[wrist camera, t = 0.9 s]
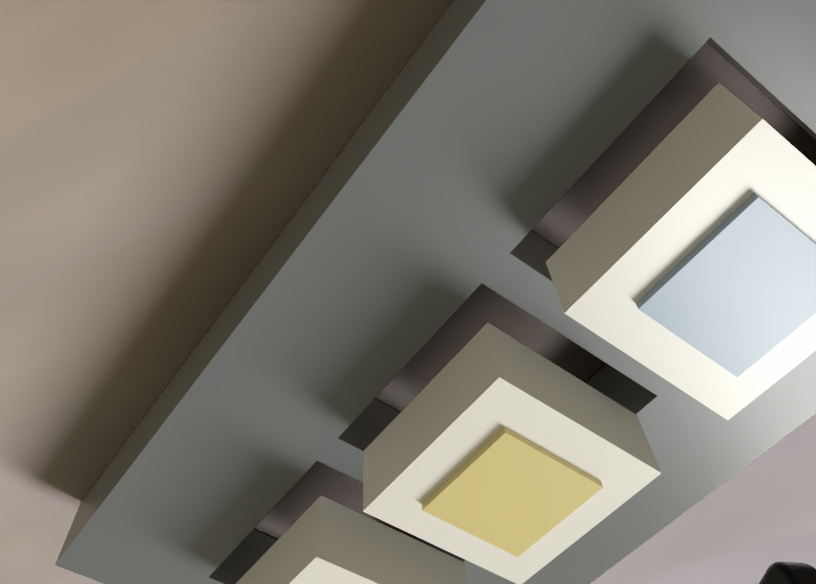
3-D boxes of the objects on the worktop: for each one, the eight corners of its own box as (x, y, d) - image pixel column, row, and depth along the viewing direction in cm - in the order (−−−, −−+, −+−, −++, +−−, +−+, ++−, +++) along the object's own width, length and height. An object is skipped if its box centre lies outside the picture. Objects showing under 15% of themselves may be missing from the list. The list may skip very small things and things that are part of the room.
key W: (636, 415, 20) (664, 479, 18) (508, 524, 22) (521, 592, 20) (487, 322, 18) (501, 383, 16) (363, 450, 20) (362, 518, 18)
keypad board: (992, 183, 20) (1062, 227, 18) (424, 643, 30) (427, 705, 28) (606, -206, 15) (643, -206, 13) (81, 502, 25) (55, 565, 23)
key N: (869, 216, 17) (931, 268, 15) (696, 364, 19) (731, 426, 17) (719, 82, 15) (767, 123, 13) (545, 262, 17) (566, 318, 15)
